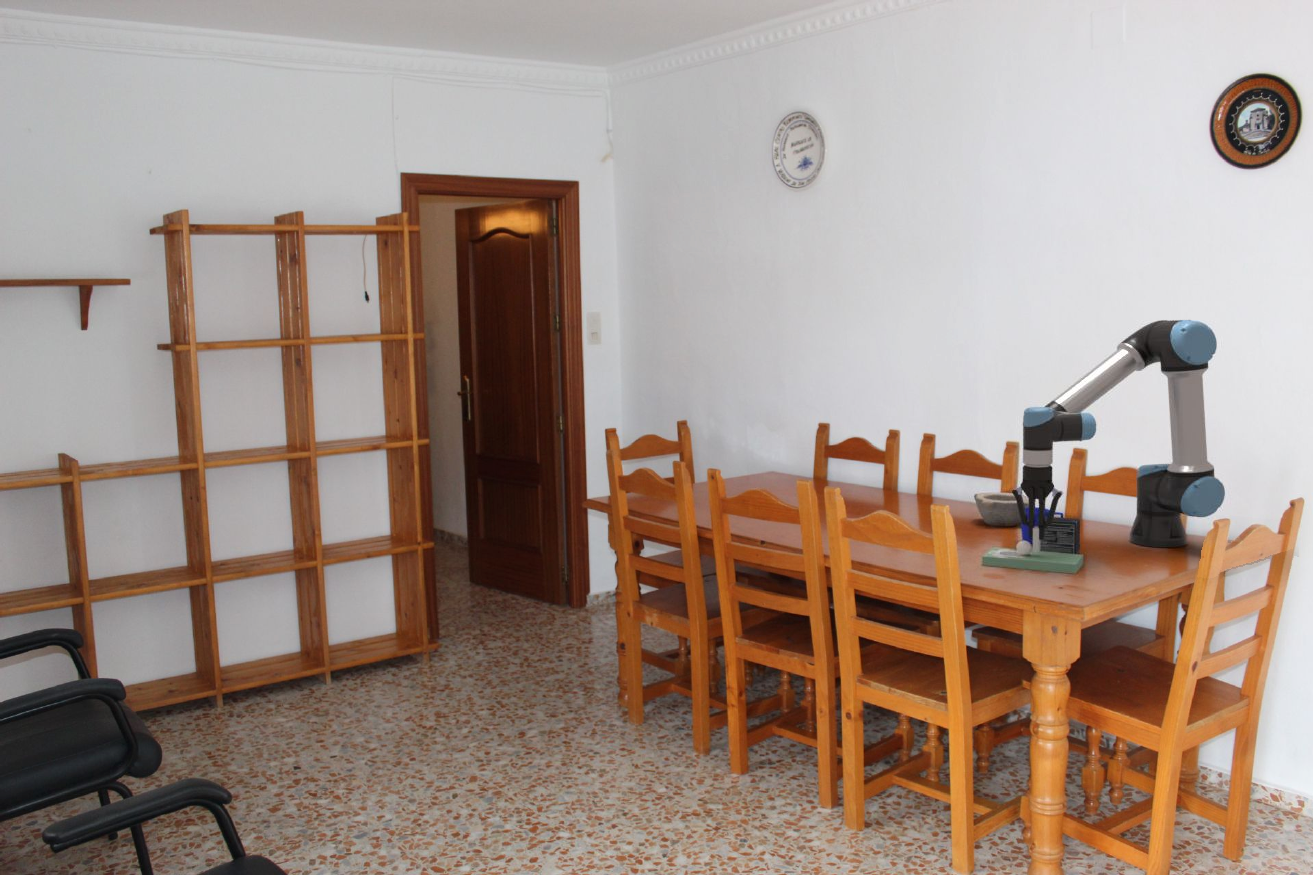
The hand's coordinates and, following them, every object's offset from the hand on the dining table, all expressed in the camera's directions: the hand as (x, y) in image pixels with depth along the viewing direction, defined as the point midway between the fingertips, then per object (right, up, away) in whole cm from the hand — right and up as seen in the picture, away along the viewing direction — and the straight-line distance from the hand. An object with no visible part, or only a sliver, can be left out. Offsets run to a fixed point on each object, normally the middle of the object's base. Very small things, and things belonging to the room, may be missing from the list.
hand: (1036, 551), depth 285 cm
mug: (+11, -1, +26) cm, 28 cm away
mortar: (+9, +3, +54) cm, 55 cm away
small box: (+10, -3, +11) cm, 15 cm away
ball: (-3, +1, +1) cm, 3 cm away
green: (-1, -4, +1) cm, 4 cm away
